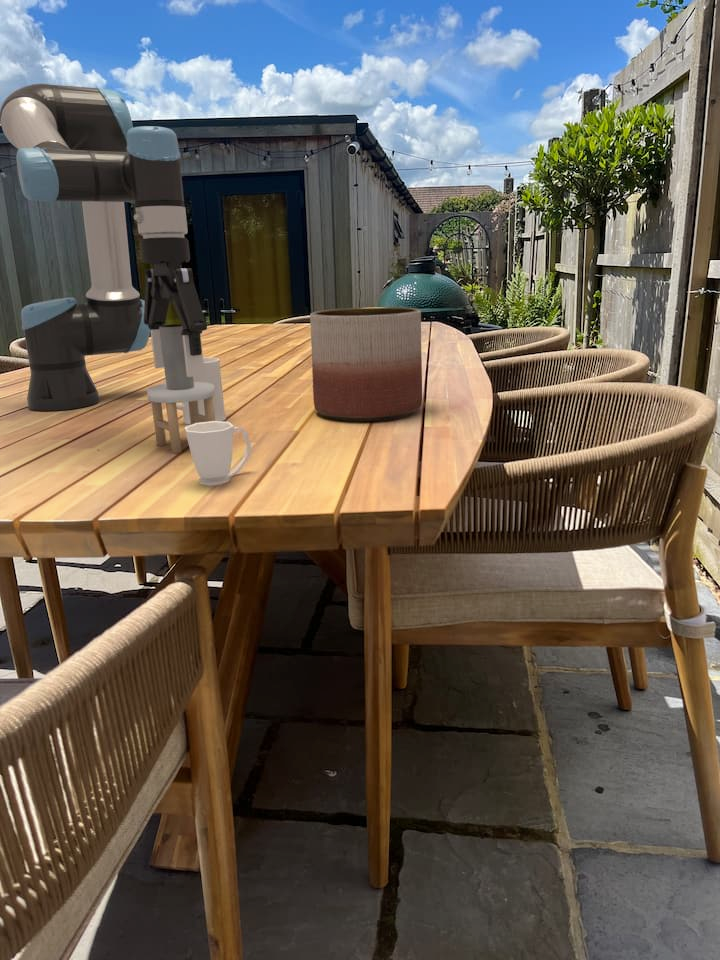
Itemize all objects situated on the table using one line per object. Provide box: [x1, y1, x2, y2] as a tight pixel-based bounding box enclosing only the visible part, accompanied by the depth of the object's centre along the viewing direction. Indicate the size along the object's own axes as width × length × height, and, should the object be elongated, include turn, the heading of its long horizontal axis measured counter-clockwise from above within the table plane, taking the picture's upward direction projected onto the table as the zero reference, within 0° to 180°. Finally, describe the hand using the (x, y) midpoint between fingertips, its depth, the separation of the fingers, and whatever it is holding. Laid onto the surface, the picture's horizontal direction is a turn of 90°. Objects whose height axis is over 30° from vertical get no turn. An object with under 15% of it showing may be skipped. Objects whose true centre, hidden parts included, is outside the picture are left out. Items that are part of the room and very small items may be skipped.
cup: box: [183, 421, 252, 487], centre depth 98 cm, size 7×10×8 cm
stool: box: [146, 382, 215, 454], centre depth 116 cm, size 11×11×10 cm
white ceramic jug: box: [163, 356, 227, 426], centre depth 133 cm, size 12×8×12 cm
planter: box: [309, 306, 423, 422], centre depth 136 cm, size 22×22×20 cm
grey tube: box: [159, 323, 194, 390], centre depth 113 cm, size 4×4×10 cm
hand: (178, 371), depth 114 cm, fingers open, 13 cm apart
